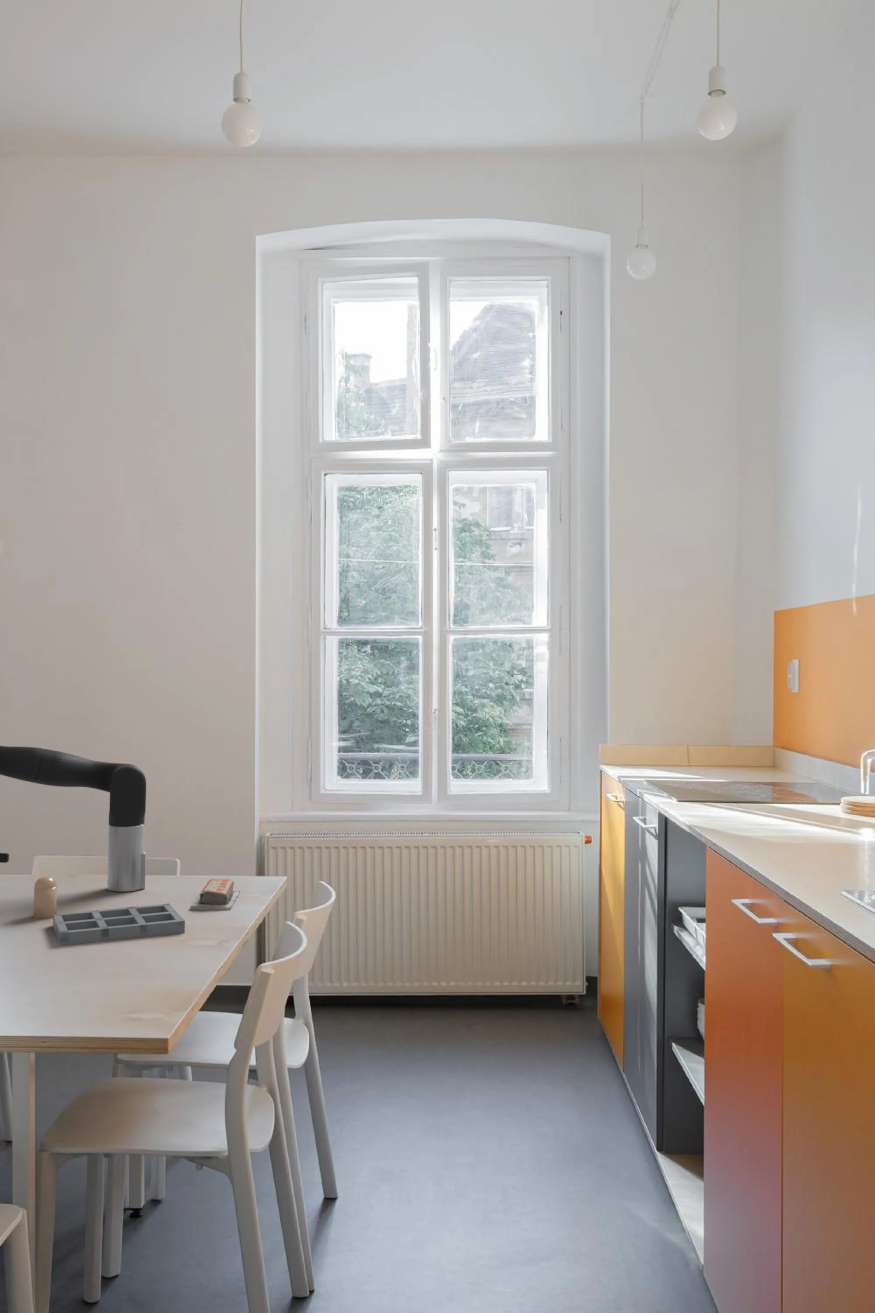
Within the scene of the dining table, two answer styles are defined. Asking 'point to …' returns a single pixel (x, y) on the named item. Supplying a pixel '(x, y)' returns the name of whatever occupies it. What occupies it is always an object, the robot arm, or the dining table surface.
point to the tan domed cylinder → (45, 897)
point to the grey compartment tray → (117, 924)
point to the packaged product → (216, 896)
